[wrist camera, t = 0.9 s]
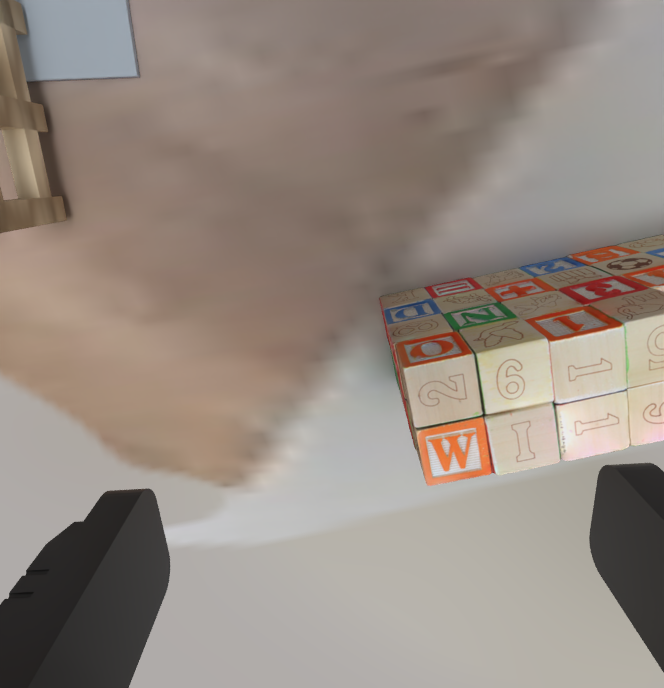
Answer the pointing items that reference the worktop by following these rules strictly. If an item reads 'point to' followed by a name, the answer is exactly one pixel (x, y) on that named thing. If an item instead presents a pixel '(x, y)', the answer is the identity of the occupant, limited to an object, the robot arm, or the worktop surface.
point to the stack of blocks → (533, 362)
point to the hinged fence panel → (22, 134)
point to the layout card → (77, 40)
